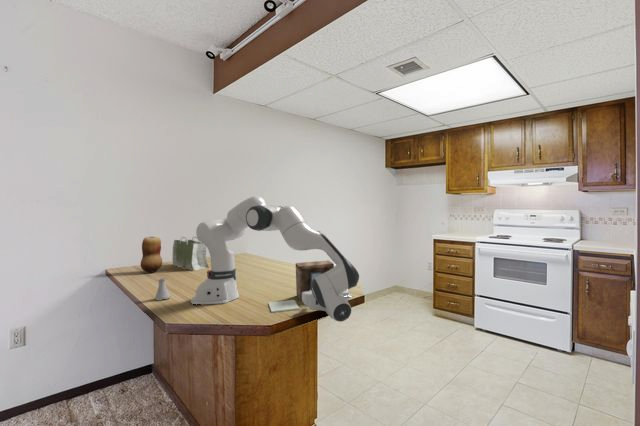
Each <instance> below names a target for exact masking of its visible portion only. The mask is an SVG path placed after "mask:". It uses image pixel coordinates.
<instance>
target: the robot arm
mask: <svg viewBox="0 0 640 426" xmlns="http://www.w3.org/2000/svg"><path fill="white" fill-rule="evenodd" d="M247 228H250V230H254V231H259V232H261V231H262V232H264V231H265V232H272V231H273V232H274V231H279V232H280V234H281V235H282V238H283V240H284V241H285V243H286V245H288V246H289V248H291V249H292V250H296V251H309V250H310V251H311V250H321V251H323V252H324V253H325V254H326V255H327V256H328V257H329V258H330V260H331V262H332V263H333V264H336V267H334V268H332V269H331V270H329V271H327V272H325V273H323V274H321V275H319V276H318V277H316V278H314V279H313V281H312V285H311V290H310V291H306V292H302V301H301V302H302V303H303V304H304V305H305V306H306V307H308V309H309V310H311V311H323V312H326V314H327V316H329V317H330V319H332V320H334V321H336V322H339V323H341V322H345V321H346V320H347V319H349V317H350V316H351V314H352V306H351V305H350V303H349V302H348V301H349V300H350V299H351V298H353V294H352V293H350V291H349V290H351V289H353V288H355V287H357V284H359V283H358V282H359V279H360V274H359V272H358V269H357V268H356V267H355V265H353V264H352V263H351V262H350V261H349V260H348V259H347V258H346V257H345V256H344V255H343V254H342V252H341V251H340V250H339V249H338V248H337V247H336V246H335V244H334V243H333V242H332V241H331V240H330V239H329V238H328V237H327V236H326V234H324V233H323V232H322V231H321V230H320V231H319V230H314V229H312V228H311V227H310V226H309V225H308V223H307V222H306V220H305V219H304V217H303V216H302V214H301V213H300V212H299V211H298V210H297V209H296V208H295V207H294V206H292V205H285V206H284V205H283V206H281V205H268V204H267V202H266V201H265V199H264V198H263V197H262V196H259V195H254V196H250V197H249V198H247V199H244V200H243V201H241V202H239V203H238V204H236V205H235V206H234V207H232V208H231V209H230V210H228V212H227V215H226V217H224V218H221V219H220V218H218V219H208V220H205V221H202V222H199V224H198V225H197V226H196V230H195V231H196V233H195V234H196V237H198V239H199V240H200V242H202V243H204V244H205V245H206V249H207V250H208V253H209V257H210V266H211V269H208V270H207V271H206V275H207V277H206V278H207V279H205V280H204V281H203V282H202V283H201V284H200V285H198V287H197V288H196V290H195V295H194V296H193V297H192V298H191V299H190V304H191V303H192V304H191V305H193V304H196V305H195V306H197V304H201V305H217V304H218V305H219V304H226V303H228V302H230V301H235V300H236V299H239V298H240V293H239V291H238V287H237V281H236V280H237V270H236V265H235V264H236V263H235V253H234V251H233V250H231V249H229V248H228V246H227V244H226V242H229V241H234V240H237V239H239V238H241V237H243V235H244V234H245V232H246V231H245V230H246V229H247ZM198 239H197V240H198ZM199 240H198V241H199Z"/></svg>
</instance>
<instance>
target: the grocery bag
mask: <svg viewBox="0 0 640 426" xmlns="http://www.w3.org/2000/svg"><path fill="white" fill-rule="evenodd" d="M194 239H197V240H198V241H196V240H194ZM173 265H174V266H173ZM172 266H173V267H175V266H179V267H178V268H180V267H182V268H181V269H183V268H184V269H183V270H186V269H188V270H187V271H191V270H192V272H195V271H194V270H196V271H200V270H205V269H210V267H209V264H208V261H207V247H206V245H205V244H204V243H202V242H201V241H200V240H199V239H198V237H197V236H193V237H192V239H188V238H187V237H186V236H182V237H180V240H179V239H174V240H173V245H172Z"/></svg>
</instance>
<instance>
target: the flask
mask: <svg viewBox="0 0 640 426" xmlns="http://www.w3.org/2000/svg"><path fill="white" fill-rule="evenodd" d="M157 281H158V287H157V292H156V294H155V298H154V300H155V299H156V300H158V301H163V300H162V299H166V300H168V299H167V298H169V299H170V298H171V295H170V292H169V290H168V287H167V286H166V278H163V277H162V278H158V279H157ZM156 300H155V301H156Z"/></svg>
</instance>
